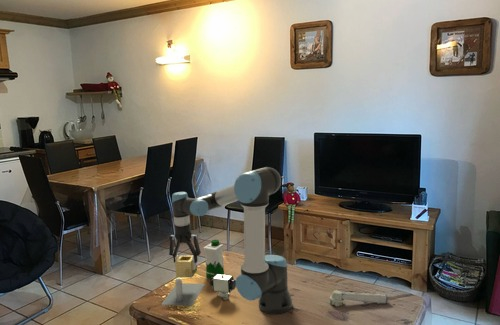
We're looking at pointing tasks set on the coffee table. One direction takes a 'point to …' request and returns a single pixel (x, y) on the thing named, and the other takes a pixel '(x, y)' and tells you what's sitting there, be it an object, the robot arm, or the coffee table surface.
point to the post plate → (183, 294)
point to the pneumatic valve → (223, 285)
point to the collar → (185, 266)
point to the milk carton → (214, 259)
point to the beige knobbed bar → (356, 297)
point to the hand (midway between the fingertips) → (186, 268)
